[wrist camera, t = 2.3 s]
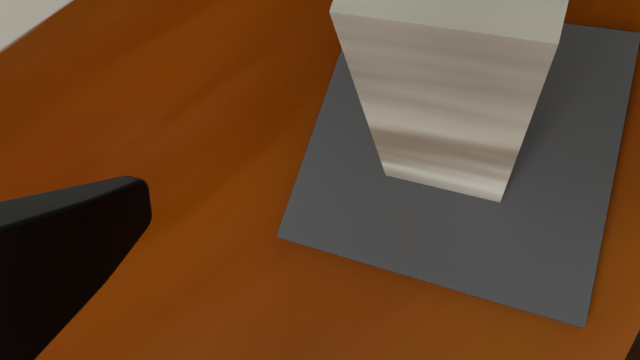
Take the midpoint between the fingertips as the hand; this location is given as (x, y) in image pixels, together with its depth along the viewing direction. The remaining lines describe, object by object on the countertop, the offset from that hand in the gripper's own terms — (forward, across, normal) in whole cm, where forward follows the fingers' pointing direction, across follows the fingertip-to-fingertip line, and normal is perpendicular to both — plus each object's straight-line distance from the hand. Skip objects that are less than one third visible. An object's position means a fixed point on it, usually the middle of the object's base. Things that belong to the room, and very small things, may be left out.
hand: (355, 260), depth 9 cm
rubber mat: (+15, 0, +4) cm, 16 cm away
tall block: (+15, 0, +4) cm, 15 cm away
